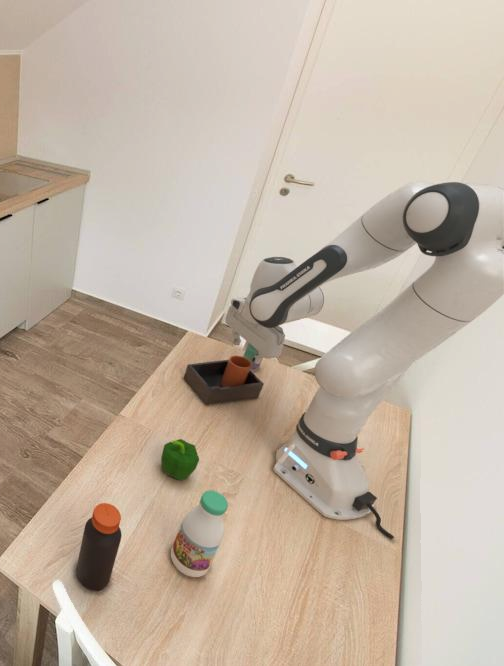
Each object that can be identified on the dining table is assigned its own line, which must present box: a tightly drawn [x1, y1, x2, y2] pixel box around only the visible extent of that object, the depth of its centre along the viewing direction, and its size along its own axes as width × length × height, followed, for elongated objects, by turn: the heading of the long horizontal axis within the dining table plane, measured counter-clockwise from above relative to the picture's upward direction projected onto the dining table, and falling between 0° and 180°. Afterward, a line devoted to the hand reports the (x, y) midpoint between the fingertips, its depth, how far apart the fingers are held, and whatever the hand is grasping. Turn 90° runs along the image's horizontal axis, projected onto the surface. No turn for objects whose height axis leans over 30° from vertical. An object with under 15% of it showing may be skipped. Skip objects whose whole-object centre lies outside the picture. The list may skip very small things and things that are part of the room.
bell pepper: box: [160, 438, 200, 481], centre depth 115 cm, size 8×8×10 cm
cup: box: [221, 355, 252, 387], centre depth 144 cm, size 6×6×9 cm
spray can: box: [242, 342, 264, 372], centre depth 149 cm, size 6×6×20 cm
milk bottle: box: [170, 490, 229, 578], centre depth 93 cm, size 8×8×20 cm
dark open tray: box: [183, 359, 265, 406], centre depth 144 cm, size 13×18×6 cm
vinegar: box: [75, 502, 123, 592], centre depth 90 cm, size 7×7×20 cm
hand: (245, 352), depth 139 cm, fingers open, 8 cm apart
